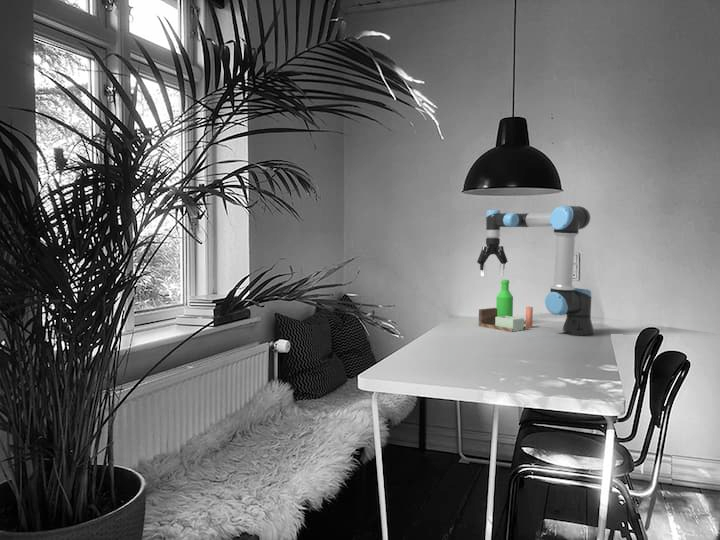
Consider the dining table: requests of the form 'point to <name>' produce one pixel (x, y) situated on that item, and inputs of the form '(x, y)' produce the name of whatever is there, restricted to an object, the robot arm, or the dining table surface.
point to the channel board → (491, 320)
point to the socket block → (510, 322)
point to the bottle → (504, 300)
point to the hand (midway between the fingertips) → (492, 275)
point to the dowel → (529, 316)
